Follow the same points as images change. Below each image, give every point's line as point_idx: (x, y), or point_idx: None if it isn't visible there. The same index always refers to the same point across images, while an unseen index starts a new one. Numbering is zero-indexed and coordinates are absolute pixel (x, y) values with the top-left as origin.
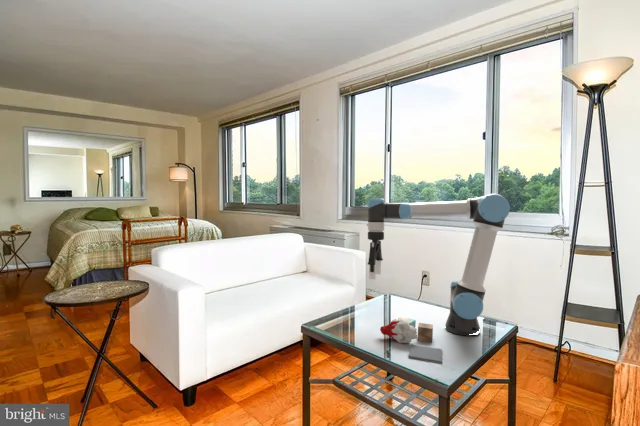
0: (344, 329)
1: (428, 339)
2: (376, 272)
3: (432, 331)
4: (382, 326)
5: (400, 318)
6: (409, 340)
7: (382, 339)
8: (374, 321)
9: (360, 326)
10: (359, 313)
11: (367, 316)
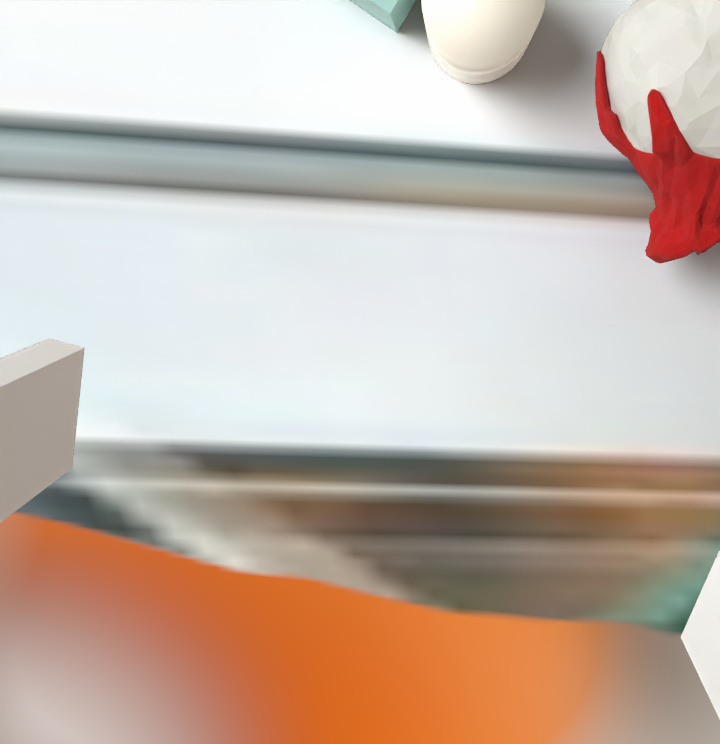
0: (496, 527)
1: None
2: (53, 453)
3: None
4: (702, 247)
5: (464, 29)
6: None
7: None
8: (240, 280)
9: (400, 404)
10: None
11: (120, 336)
